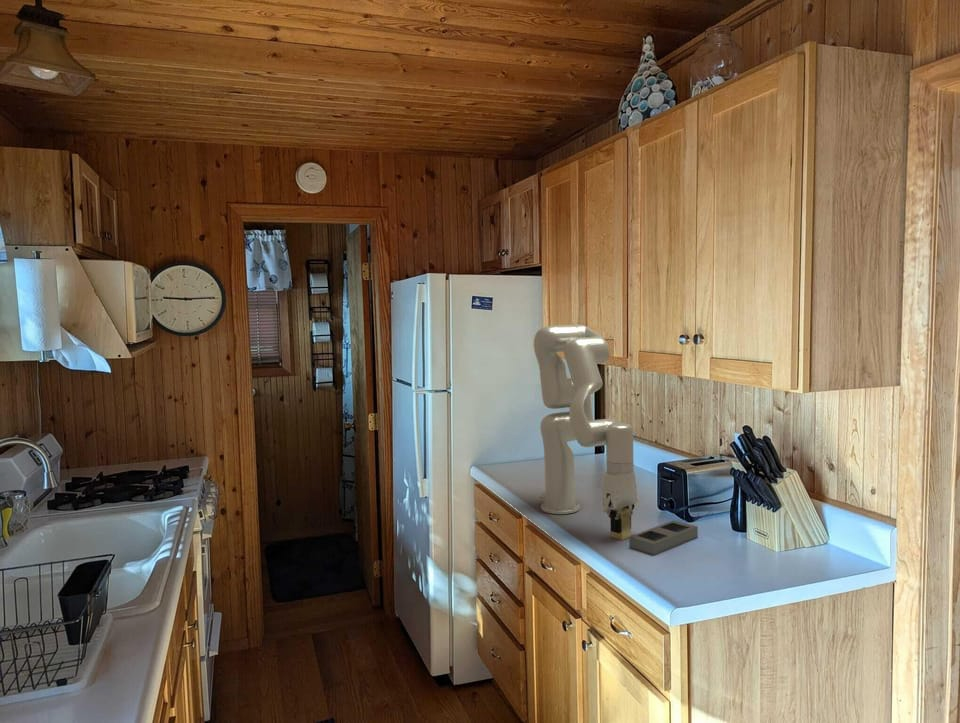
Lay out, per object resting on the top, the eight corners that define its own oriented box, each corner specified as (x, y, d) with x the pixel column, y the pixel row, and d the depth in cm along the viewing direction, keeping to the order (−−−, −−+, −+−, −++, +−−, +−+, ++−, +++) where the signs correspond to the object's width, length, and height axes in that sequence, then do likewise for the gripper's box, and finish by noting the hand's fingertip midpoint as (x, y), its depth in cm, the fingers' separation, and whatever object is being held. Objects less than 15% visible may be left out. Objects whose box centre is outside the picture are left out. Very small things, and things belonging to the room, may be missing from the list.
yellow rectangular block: (610, 536, 194) (610, 509, 193) (620, 533, 196) (619, 506, 196) (621, 540, 191) (621, 512, 190) (631, 536, 193) (630, 509, 193)
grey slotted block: (629, 547, 185) (629, 536, 185) (673, 530, 198) (673, 520, 197) (653, 555, 179) (653, 544, 179) (697, 537, 191) (697, 526, 191)
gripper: (628, 459, 200) (629, 520, 202) (589, 470, 190) (591, 534, 191) (649, 464, 194) (650, 526, 196) (610, 474, 184) (611, 540, 185)
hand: (621, 529), depth 194 cm, fingers closed on yellow rectangular block, 4 cm apart
